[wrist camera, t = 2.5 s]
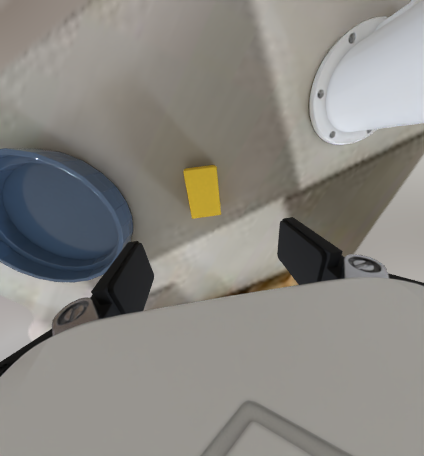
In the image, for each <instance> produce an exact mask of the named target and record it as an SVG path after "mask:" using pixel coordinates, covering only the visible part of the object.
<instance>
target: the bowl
mask: <svg viewBox="0 0 424 456" xmlns="http://www.w3.org/2000/svg"><path fill="white" fill-rule="evenodd" d="M132 233H133V223H132V215H131V213H130V210H129V207H128V205H127V202H126V201H125V199H124V198H123V196H122V195H121V193H120V192H119V190H118V189H117V187H116V186H115V185H114V184H113V183H112V182H111V181H110V180H109V179H107V178H106V177H105V176H104V175H103V174H102V173H101V172H100V171H98V170H96V169H95V168H93V167H92V166H90V165H89V164H87V163H85V162H84V161H82V160H80V159H77V158H75V157H72V156H70V155H67V154H64V153H62V152H57V151H50V150H43V149H18V148H3V149H0V262H1V263H3V264H5V265H6V266H8V267H10V268H12V269H14V270H16V271H18V272H21V273H24V274H27V275H29V276H32V277H35V278H39V279H44V280H49V281H54V282H80V281H87V280H91V279H93V278H96V277H98V276H101V275H103V274H104V273H105V272H106V271H107V270H108V268H109V267H110V266H111V264H112V263H113V262H114V260H115V259H116V258H117V256H118V255H119V254H120V252H121V251H122V250H123V248H124V247H125V246H126V244H127V243H128V242H130V241H131V237H132Z"/></svg>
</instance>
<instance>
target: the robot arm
mask: <svg viewBox="0 0 424 456" xmlns="http://www.w3.org/2000/svg"><path fill="white" fill-rule="evenodd" d="M309 108H310V118H311V122H312V125H313V128H314V130H315V132H316V133H317V134H318V136H319V137H320V138H321V139H323V140H324V141H325V142H328V143H331V144H336V145H343V144H351V143H355V142H358V141H360V140H362V139H364V138H366V137H368V136H369V135H371V134H372V133H373V132H374V131H376V130H377V129H379V128H387V127H395V126H403V125H411V124H419V123H424V0H411V2H410V3H409V4H408V5H406V6H405V7H403V8H402V9H400V10H399V11H397V12H396V13H395V14H393V15H392V16H390V17H385V16H382V17H374V18H371V19H368V20H366V21H363V22H362V23H360V24H358V25H357V26H355V27H354V28H352V29H351V30H350V31H349V32H347V33H346V34H345V35H344V36H342V37H341V38H340V39H339V40H338V41H337V42H336V44H335V45H334V46H333V47H332V48H331V49H330V51H329V52H328V54H327V55H326V56H325V58H324V60H323V62H322V63H321V65H320V67H319V69H318V71H317V74H316V77H315V79H314V82H313V86H312V90H311V94H310V104H309ZM277 254H278V258H279V260H280V261H281V262H282V263H283V265H284V266H285V267H286V269H287V270H288V271H289V273H290V274H291V275H292V276H293V278H294V279H295V280H296V282H297V283H298V284H299V285H296V286H290V287H283V288H277V289H271V290H265V291H258V292H252V293H246V294H240V295H234V296H228V297H222V298H216V299H210V300H204V301H198V302H192V303H186V304H180V305H174V306H169V307H163V308H157V309H151V310H145V311H143V310H144V307H145V304H146V301H147V298H148V295H149V292H150V289H151V286H152V283H153V280H154V273H153V271H152V268H151V266H150V263H149V260H148V258H147V255H146V253H145V250H144V248H143V245H142V243H139V242H138V241H135V242H128V243H127V244H126V246H125V247H124V248H123V250H122V251H121V252H120V254H119V255H118V256H117V258H116V259H115V260H114V262H113V263H112V264H111V266H110V267H109V268H108V270H107V271H106V272H105V274H104V275H103V276H102V278H101V279H100V280H99V282H98V283H97V284H96V286H95V287H94V288H93V290H92V291H91V293H92V294H93V295H92V296H91V298H81V299H78V300H76V301H74V302H72V303H70V304H68V305H67V306H65V307H64V308H63V309H62V310H61V311H60V312H59V313H58V314H57V315H56V316H55V318H54V319H53V322H52V329H51V330H49V331H48V332H46V333H45V334H43V335H41V336H40V337H38V338H37V339H35V340H34V341H32V342H31V343H29V344H28V345H26V346H25V347H23V348H21V349H20V350H18V351H17V352H16V353H14V354H12V355H11V356H9V357H7V358H6V359H4V360H3V361H1V362H0V456H424V283H422V282H418V281H415V280H411V279H407V278H403V277H399V276H396V275H392V274H388V272H387V269H386V268H385V266H384V265H383V264H382V263H380V262H378V261H377V260H375V259H373V258H370V257H367V256H363V255H347V256H346V257H343V256H342V251H341V250H340V249H338V248H337V247H335V246H334V245H333V244H331V243H330V242H328V241H327V240H325V239H324V238H322V237H321V236H319V235H318V234H317V233H315V232H314V231H312V230H311V229H309V228H308V227H306V226H305V225H303V224H302V223H300V222H299V221H298V220H296V219H295V218H293V217H291V218H285V219H283V220H282V221H281V222H280V229H279V241H278V253H277Z"/></svg>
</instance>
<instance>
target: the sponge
mask: <svg viewBox="0 0 424 456" xmlns="http://www.w3.org/2000/svg"><path fill="white" fill-rule="evenodd" d="M183 173H184V178H185V183H186V189H187V194H188V200H189V205H190V210H191V216H192V219H194V218H201V217H208V216H215V215H221V210H220V199H219V188H218V178H217V167H216V166H215V165H209V166H202V167H194V168H186V169H184V171H183Z"/></svg>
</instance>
